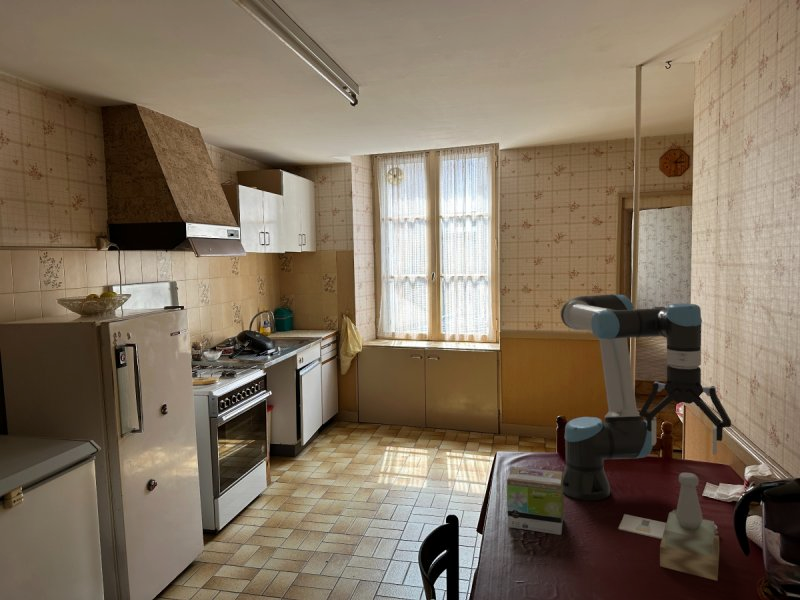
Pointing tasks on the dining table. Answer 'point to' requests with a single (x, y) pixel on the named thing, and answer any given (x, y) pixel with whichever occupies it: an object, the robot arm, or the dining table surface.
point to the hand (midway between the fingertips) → (683, 448)
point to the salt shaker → (689, 502)
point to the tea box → (535, 500)
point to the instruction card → (642, 526)
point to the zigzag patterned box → (690, 548)
